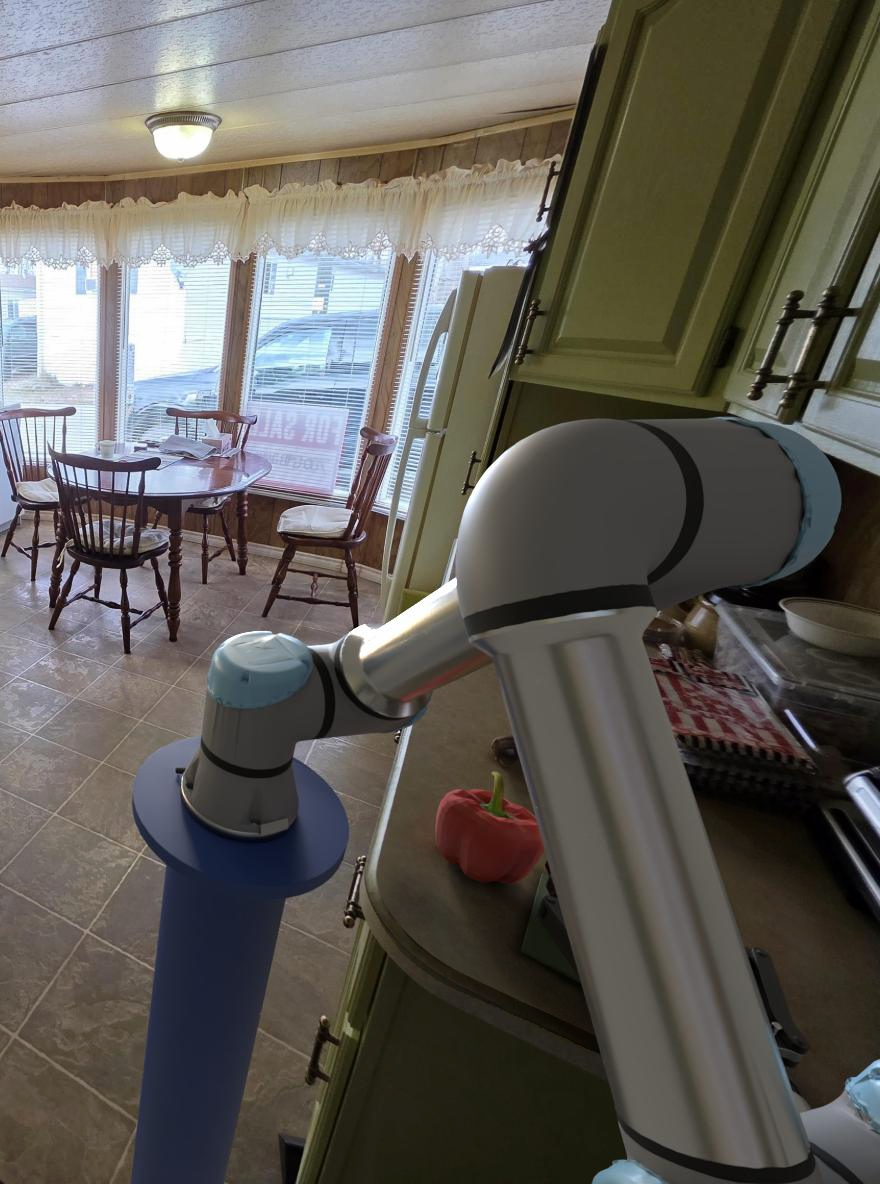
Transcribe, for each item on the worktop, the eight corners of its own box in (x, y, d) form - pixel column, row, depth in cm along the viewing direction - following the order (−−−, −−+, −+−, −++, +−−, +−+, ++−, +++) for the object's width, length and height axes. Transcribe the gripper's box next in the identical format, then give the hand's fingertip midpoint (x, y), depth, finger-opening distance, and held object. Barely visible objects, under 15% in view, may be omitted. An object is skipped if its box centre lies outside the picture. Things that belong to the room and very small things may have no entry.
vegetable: (428, 816, 81) (448, 753, 77) (523, 848, 77) (550, 782, 73) (425, 876, 72) (447, 808, 68) (532, 916, 68) (563, 846, 64)
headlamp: (528, 747, 96) (576, 722, 90) (557, 809, 90) (610, 786, 84) (462, 733, 94) (507, 707, 88) (487, 796, 87) (537, 772, 81)
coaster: (520, 951, 64) (522, 949, 64) (541, 875, 73) (542, 872, 73) (691, 1044, 56) (693, 1041, 56) (690, 945, 65) (692, 943, 65)
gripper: (543, 1076, 51) (480, 867, 71) (914, 1195, 45) (731, 929, 64) (574, 1015, 48) (499, 815, 68) (976, 1134, 42) (765, 875, 61)
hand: (612, 870), depth 66 cm, fingers closed on cup, 10 cm apart
